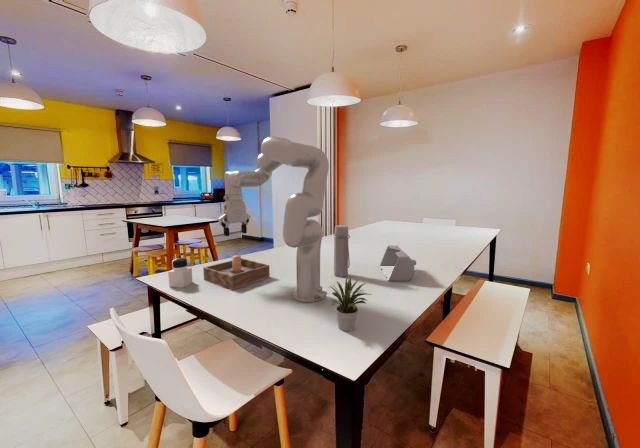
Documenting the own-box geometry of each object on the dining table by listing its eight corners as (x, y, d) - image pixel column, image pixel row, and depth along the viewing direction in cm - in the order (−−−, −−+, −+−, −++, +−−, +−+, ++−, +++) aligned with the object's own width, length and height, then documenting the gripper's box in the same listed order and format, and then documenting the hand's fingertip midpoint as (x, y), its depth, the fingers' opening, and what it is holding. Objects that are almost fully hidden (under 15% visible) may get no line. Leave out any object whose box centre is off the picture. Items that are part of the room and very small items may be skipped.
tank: (422, 282, 132) (424, 256, 131) (388, 282, 133) (389, 256, 131) (408, 267, 157) (409, 245, 155) (379, 266, 158) (379, 244, 156)
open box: (269, 277, 140) (269, 265, 139) (231, 290, 122) (230, 276, 122) (241, 268, 153) (241, 258, 152) (204, 279, 136) (203, 267, 135)
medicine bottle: (192, 282, 132) (191, 257, 131) (184, 287, 125) (182, 261, 124) (178, 281, 133) (176, 256, 131) (168, 287, 126) (166, 260, 124)
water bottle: (330, 275, 143) (330, 226, 139) (341, 271, 148) (341, 224, 145) (343, 279, 136) (344, 228, 133) (354, 276, 141) (355, 226, 138)
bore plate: (257, 275, 139) (257, 270, 138) (233, 283, 128) (233, 277, 128) (240, 270, 147) (240, 265, 147) (216, 277, 136) (215, 272, 136)
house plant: (341, 346, 80) (342, 291, 77) (313, 326, 91) (313, 277, 89) (376, 331, 88) (378, 281, 86) (347, 315, 99) (348, 269, 97)
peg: (243, 276, 138) (242, 256, 137) (236, 278, 135) (235, 257, 133) (238, 274, 140) (237, 254, 139) (231, 276, 137) (230, 256, 136)
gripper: (222, 199, 123) (224, 238, 126) (253, 197, 137) (255, 232, 139) (212, 198, 128) (214, 236, 130) (244, 197, 141) (245, 231, 144)
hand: (235, 234), depth 135 cm, fingers open, 9 cm apart
